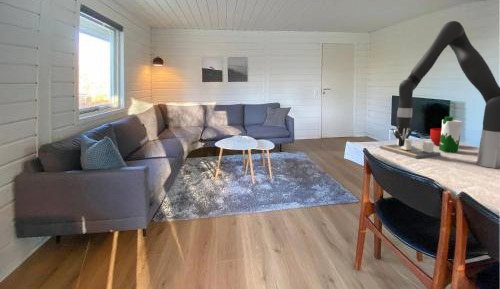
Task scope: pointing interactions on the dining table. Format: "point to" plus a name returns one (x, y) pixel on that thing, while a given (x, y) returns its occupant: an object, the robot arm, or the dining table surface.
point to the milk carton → (450, 135)
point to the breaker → (428, 146)
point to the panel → (410, 151)
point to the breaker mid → (407, 145)
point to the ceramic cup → (435, 135)
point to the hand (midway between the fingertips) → (401, 146)
